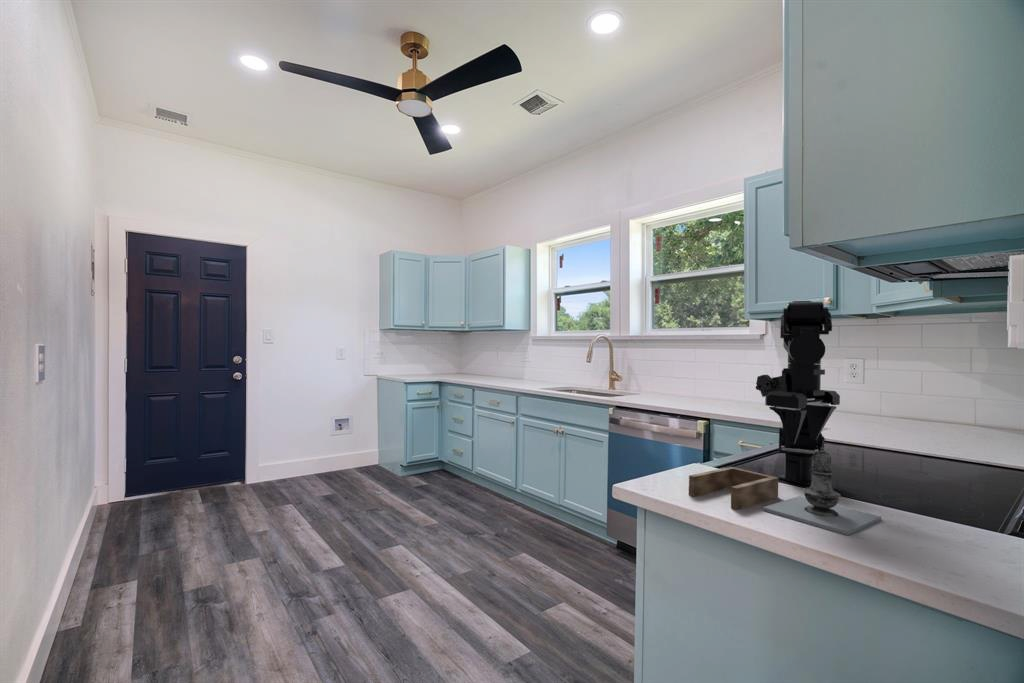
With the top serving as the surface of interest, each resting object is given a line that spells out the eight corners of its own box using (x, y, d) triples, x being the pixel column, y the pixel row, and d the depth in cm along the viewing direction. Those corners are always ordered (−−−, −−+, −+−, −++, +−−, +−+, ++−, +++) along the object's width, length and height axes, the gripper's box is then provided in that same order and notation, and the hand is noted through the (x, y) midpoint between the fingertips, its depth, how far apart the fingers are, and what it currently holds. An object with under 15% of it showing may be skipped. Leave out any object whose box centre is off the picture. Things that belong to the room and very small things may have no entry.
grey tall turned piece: (845, 519, 84) (846, 451, 84) (807, 515, 86) (808, 448, 86) (833, 508, 90) (834, 444, 90) (798, 505, 91) (799, 442, 92)
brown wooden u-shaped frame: (730, 484, 107) (730, 466, 107) (778, 497, 98) (778, 477, 98) (688, 494, 98) (689, 475, 98) (736, 509, 90) (737, 488, 90)
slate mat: (799, 498, 98) (799, 495, 98) (881, 519, 86) (881, 516, 86) (762, 510, 90) (763, 507, 90) (848, 535, 78) (848, 531, 78)
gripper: (785, 362, 109) (784, 431, 108) (740, 362, 98) (738, 438, 98) (841, 364, 99) (840, 439, 99) (797, 364, 89) (796, 448, 89)
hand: (802, 441), depth 96 cm, fingers open, 9 cm apart
